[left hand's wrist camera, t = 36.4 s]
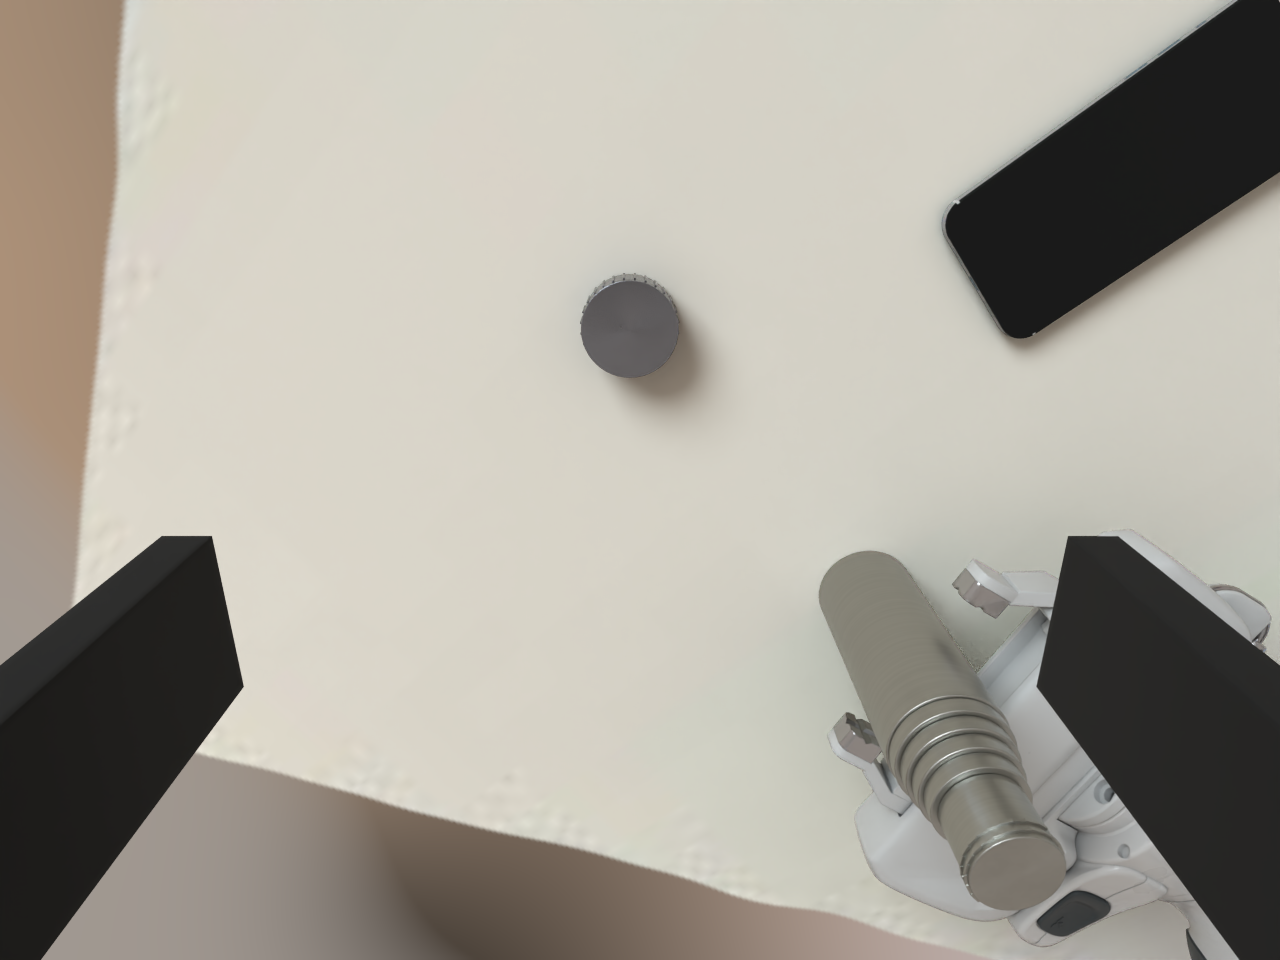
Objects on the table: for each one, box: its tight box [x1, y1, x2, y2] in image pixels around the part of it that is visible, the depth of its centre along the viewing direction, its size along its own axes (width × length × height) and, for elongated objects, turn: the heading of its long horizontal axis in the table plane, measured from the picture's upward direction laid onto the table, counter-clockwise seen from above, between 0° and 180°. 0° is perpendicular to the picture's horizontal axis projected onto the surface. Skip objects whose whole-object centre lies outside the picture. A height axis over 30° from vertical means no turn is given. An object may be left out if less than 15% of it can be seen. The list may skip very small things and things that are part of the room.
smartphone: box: [942, 0, 1280, 338], centre depth 35 cm, size 7×1×15 cm
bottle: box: [819, 551, 1066, 911], centre depth 35 cm, size 5×5×18 cm
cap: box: [580, 273, 679, 378], centre depth 37 cm, size 4×4×2 cm
